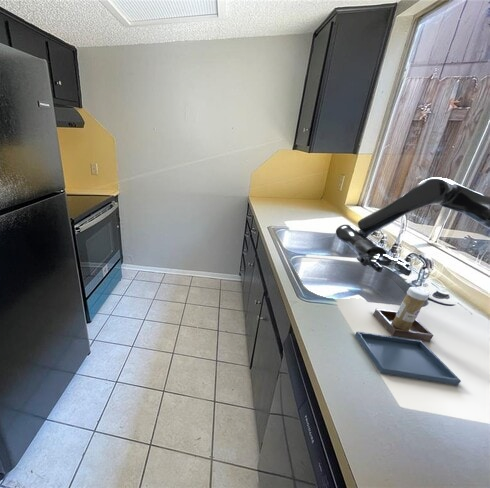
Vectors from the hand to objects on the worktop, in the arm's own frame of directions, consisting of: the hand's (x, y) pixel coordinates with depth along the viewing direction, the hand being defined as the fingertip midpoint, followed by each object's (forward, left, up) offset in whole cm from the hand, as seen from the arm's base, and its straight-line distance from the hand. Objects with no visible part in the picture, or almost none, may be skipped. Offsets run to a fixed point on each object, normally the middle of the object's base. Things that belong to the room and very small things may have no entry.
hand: (394, 271), depth 86 cm
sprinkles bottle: (0, +11, -14) cm, 18 cm away
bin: (0, +11, -14) cm, 18 cm away
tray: (+8, +25, -14) cm, 30 cm away
